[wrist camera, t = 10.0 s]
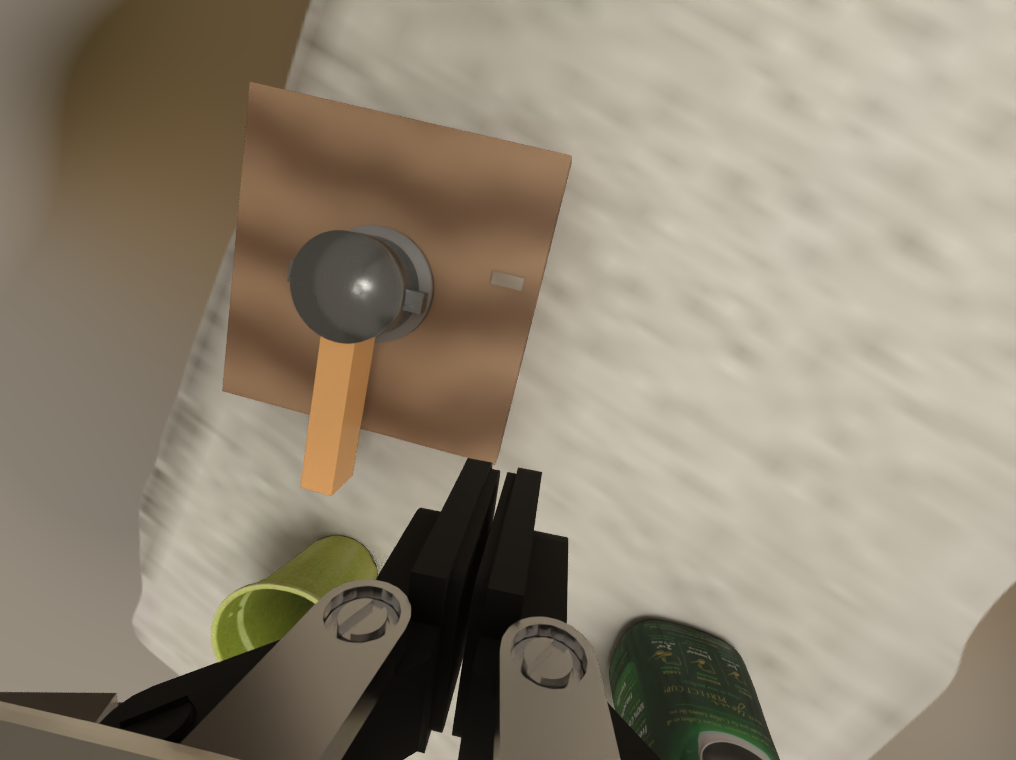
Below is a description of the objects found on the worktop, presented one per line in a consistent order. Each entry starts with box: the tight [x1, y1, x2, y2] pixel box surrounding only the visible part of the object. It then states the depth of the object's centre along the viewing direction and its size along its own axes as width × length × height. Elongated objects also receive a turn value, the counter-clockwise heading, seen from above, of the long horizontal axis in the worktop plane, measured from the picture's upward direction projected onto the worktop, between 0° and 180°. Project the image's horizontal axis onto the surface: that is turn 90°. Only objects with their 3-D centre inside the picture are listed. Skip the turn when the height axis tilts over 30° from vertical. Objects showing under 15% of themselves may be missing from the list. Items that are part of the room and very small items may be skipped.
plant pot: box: [211, 536, 377, 662], centre depth 34 cm, size 9×9×9 cm
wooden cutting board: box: [222, 82, 572, 465], centre depth 31 cm, size 20×20×3 cm
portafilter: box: [287, 230, 429, 496], centre depth 29 cm, size 8×16×4 cm, turn 167°
